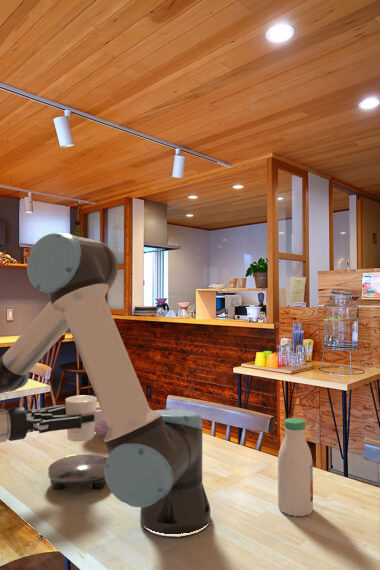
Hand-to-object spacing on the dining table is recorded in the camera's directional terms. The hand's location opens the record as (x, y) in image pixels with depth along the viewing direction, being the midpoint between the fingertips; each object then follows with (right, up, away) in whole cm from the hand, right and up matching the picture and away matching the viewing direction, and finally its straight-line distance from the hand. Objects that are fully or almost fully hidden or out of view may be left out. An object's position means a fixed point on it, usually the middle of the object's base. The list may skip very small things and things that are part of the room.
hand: (99, 411), depth 116 cm
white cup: (-4, -6, -3) cm, 8 cm away
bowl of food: (-3, -19, +37) cm, 42 cm away
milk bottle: (+48, -17, -17) cm, 54 cm away
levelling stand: (-4, -18, -3) cm, 18 cm away
